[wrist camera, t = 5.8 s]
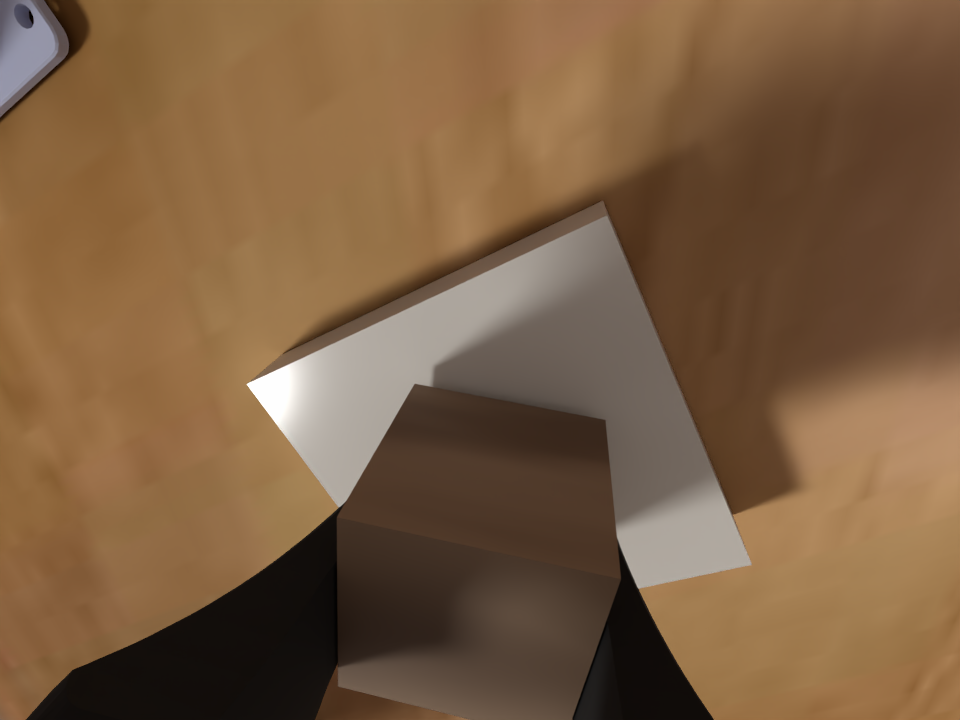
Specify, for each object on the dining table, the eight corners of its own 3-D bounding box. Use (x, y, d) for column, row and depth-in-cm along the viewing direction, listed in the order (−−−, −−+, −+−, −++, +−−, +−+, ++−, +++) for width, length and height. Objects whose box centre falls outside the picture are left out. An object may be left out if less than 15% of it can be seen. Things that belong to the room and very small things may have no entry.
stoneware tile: (281, 354, 17) (246, 384, 15) (603, 200, 13) (607, 215, 11) (444, 586, 20) (431, 631, 19) (733, 515, 17) (752, 564, 15)
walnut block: (414, 383, 14) (336, 516, 9) (605, 419, 13) (621, 579, 9) (404, 524, 16) (338, 686, 11) (566, 559, 15) (563, 743, 11)
